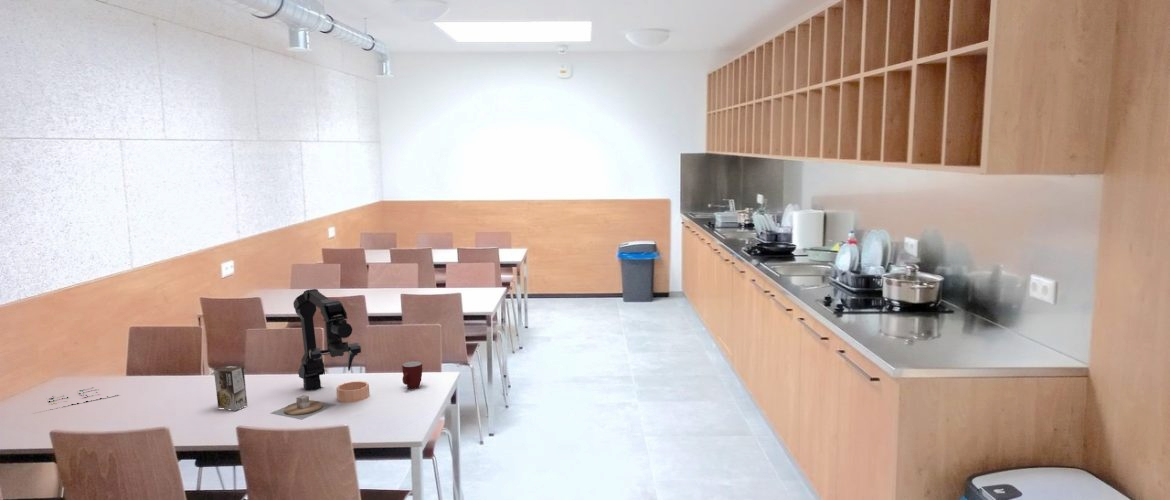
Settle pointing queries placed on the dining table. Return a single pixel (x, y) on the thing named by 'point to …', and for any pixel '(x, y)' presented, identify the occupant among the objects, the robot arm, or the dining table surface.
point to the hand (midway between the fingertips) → (336, 372)
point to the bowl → (353, 391)
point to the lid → (303, 406)
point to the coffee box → (230, 387)
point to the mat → (281, 412)
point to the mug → (412, 374)
